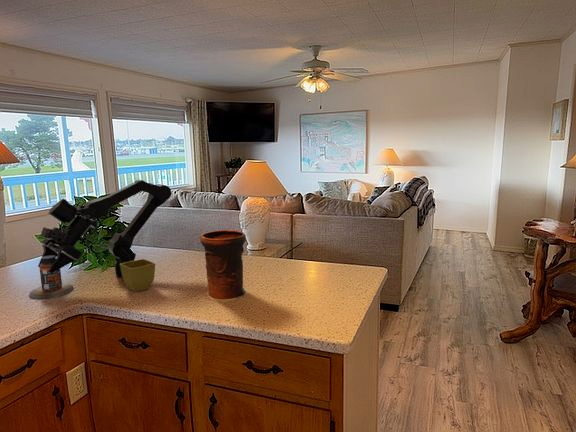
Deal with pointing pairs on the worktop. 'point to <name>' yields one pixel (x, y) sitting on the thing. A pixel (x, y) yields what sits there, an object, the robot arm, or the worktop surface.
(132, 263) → the flower pot
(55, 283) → the supplement bottle
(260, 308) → the worktop surface
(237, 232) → the vessel
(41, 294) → the coaster
